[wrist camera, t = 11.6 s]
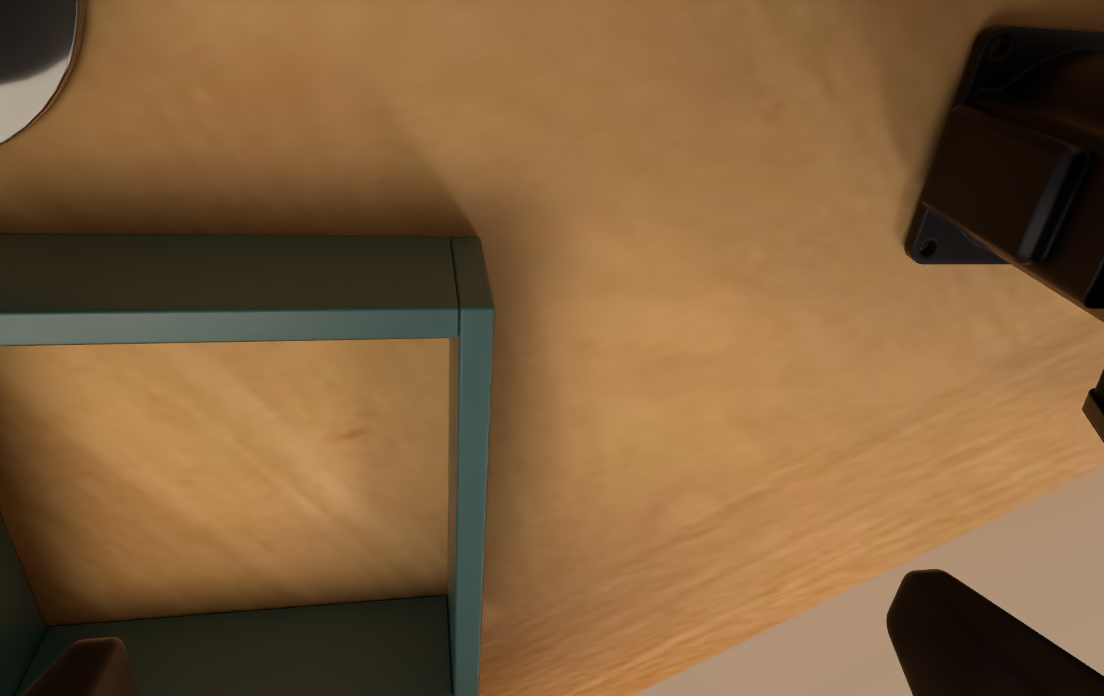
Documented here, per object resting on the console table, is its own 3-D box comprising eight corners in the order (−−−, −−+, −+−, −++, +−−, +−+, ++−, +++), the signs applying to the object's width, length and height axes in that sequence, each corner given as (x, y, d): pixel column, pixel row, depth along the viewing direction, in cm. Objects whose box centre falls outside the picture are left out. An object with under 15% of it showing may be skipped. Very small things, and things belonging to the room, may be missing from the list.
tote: (480, 235, 20) (495, 307, 17) (469, 607, 27) (478, 708, 24) (-153, 231, 17) (-287, 315, 14) (26, 644, 25) (-33, 762, 21)
